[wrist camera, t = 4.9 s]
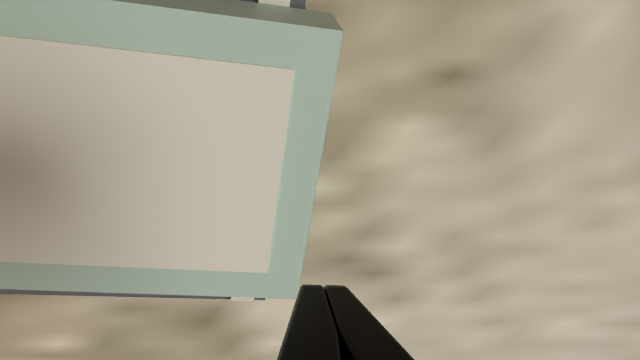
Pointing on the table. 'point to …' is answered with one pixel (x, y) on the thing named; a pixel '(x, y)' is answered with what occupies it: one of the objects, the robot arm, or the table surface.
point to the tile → (161, 144)
